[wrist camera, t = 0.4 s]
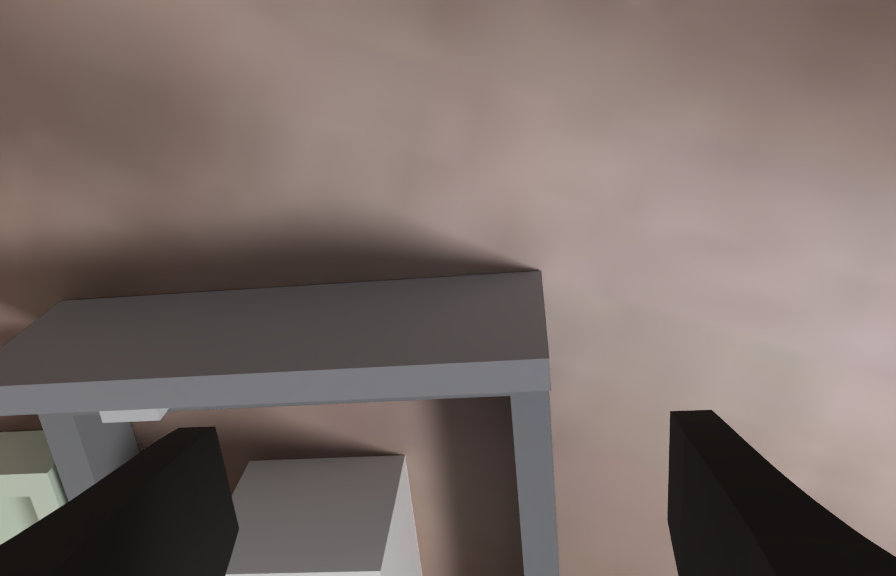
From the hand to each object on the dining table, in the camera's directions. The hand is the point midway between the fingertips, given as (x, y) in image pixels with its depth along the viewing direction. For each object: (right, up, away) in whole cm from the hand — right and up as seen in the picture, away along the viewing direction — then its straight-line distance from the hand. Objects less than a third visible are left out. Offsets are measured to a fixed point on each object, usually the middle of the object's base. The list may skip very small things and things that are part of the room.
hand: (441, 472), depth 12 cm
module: (-3, -5, +13) cm, 14 cm away
